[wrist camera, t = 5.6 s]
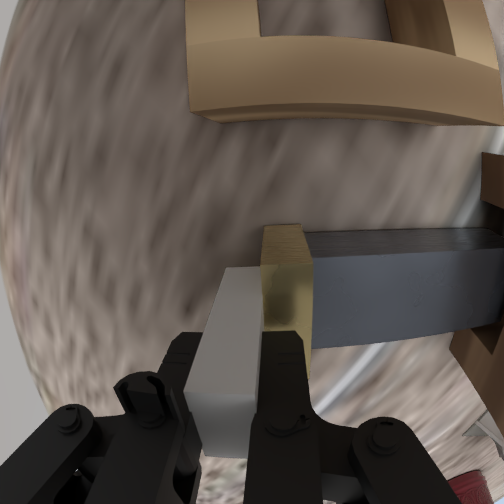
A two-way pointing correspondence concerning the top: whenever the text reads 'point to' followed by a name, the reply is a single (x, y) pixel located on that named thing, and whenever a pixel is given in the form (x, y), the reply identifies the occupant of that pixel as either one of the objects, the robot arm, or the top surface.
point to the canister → (471, 488)
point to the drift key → (379, 283)
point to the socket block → (491, 335)
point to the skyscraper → (487, 431)
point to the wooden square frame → (345, 67)
